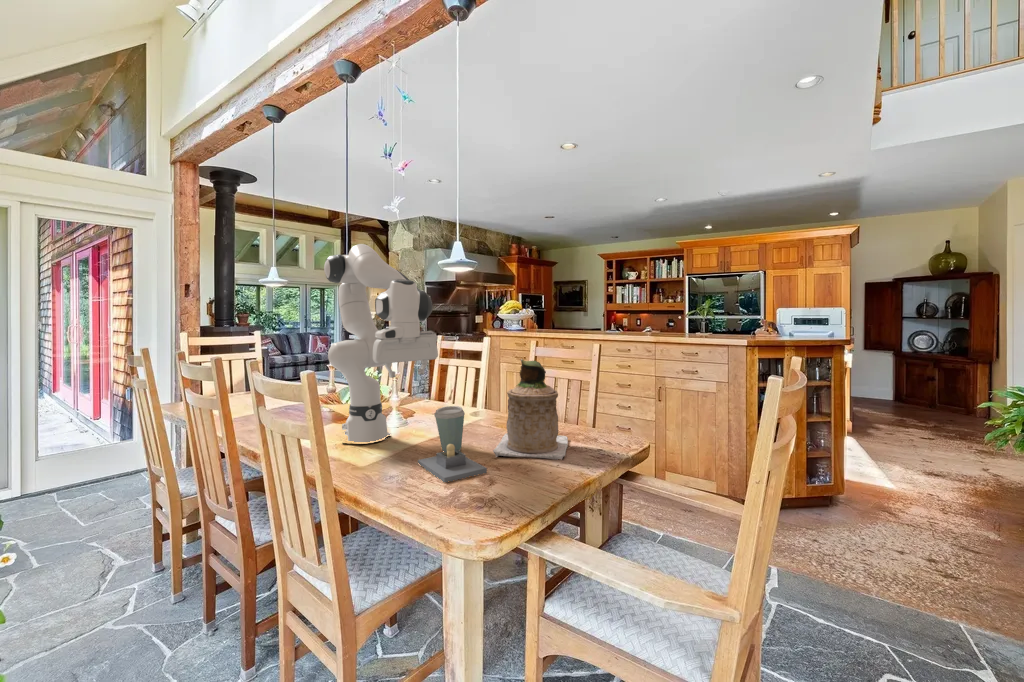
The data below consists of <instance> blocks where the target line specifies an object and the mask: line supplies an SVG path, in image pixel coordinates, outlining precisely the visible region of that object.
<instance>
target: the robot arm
mask: <svg viewBox="0 0 1024 682" xmlns="http://www.w3.org/2000/svg"><path fill="white" fill-rule="evenodd" d="M323 266H324V267H323V268H324V269H323V271H324V274H325V278H326V279H327V281H329V283H335V284H339V283H340V285H339V287H338V293H337V294H338V295H337V296H338V307H339V312H340V318H341V322H342V323H341V324H342V326H343V328H344V330H345V331H346V332H348V333H349V334H351V335H353V336H355V337H357V338H358V339H345V340H341V341H337V342H333V343H332V344H331V345H330V347H329V348H328V352H327V359H328V362H329V363H330V365H331V366H332V368H334V369H336V370H337V371H338V372H340V373H341V374H342V375H343V376H344V378H345V379H346V382H347V384H348V385H347V386H348V389H349V399H350V400H349V401H350V404H349V407H348V414H349V416H348V417H347V419H346V420H345V423H342V424H341V430H342V431H343V430H345V431H344V432H345V435H347V436H348V441H354V442H370V441H376V440H379V439H382V438H384V437H386V436H387V435H390V434H391V435H392V433H391V432H388V425H387V424H388V423H387V417H386V416H387V415H385V414H383V413H382V412H383V404H382V402H381V384H380V383H379V381H378V380H377V379H376V378H374V377H371V376H370V375H367V374H366V371H365V369H366V368H378V367H383V366H384V367H385V368H386V370H387V372H388V377H389V379H390V378H391V379H392V378H396V376H397V375H396V371H395V370H392V368H391V367H392V365H393V364H394V363H395V364H396V363H405V362H416V361H417V362H418V361H420V363H421V366H420V368H417V374H418V375H419V376H421V375H425V369H426V368H427V365H428V361H432V360H436V359H438V356H439V351H438V350H439V349H438V344H437V341H438V340H437V339H438V337H437V334H436V332H435V331H433V330H420V329H421V328H420V327H421V325H420V322H424V321H425V320H427V318H428V317H429V316H430V315H431V314H432V312H433V307H434V306H433V301H432V298H431V297H430V295H429V294H428V293H427V292H425V291H424V290H421V289H420V288H418V286H417V283H416V282H415V281H413V280H412V279H409V278H408V277H407V276H406V275H405V274H403V273H402V272H401V271H399V270H398V269H396V268H394V267H393V266H391V265H390V264H388V263H387V262H386V261H385V260H384V259H382V258H381V256H380V255H379V254H378V252H377V251H376V250H374V249H373V247H371V246H369V245H368V244H365V243H358V244H356V245H353V246H352V247H351V248H350V249H349V252H348V254H334V255H329V256H328V257H327V258H326V259H325V262H324V265H323ZM367 288H370V289H371V288H373V289H383V290H385V291H383V292H380V293H379V294H378V295H377V297H376V298H375V300H374V301H375V302H374V307H375V308H374V309H375V314H376V315H377V316H378V318H379V319H380V320H382V321H386V322H390V326H387V327H386V328H383V329H380V330H379V329H378V328H377V326H376V324H375V322H374V320H373V316H372V312H371V309H370V303H369V299H368V297H367Z"/></svg>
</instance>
